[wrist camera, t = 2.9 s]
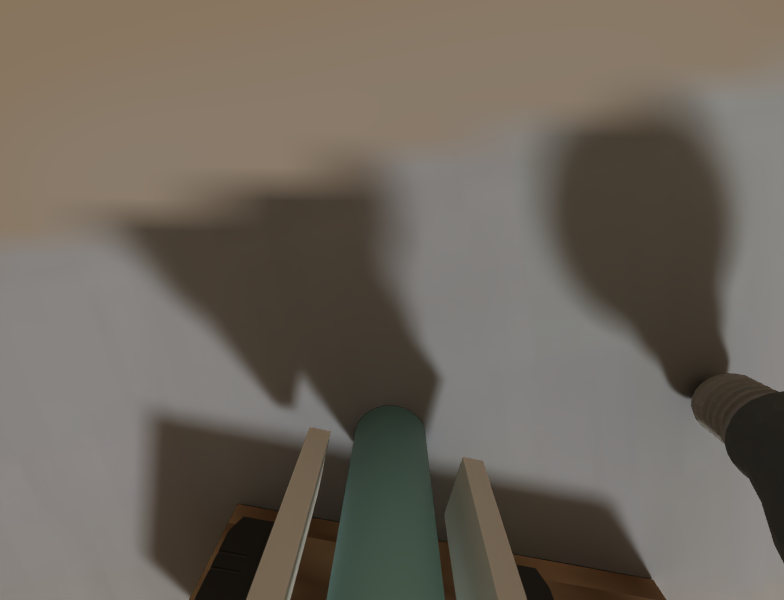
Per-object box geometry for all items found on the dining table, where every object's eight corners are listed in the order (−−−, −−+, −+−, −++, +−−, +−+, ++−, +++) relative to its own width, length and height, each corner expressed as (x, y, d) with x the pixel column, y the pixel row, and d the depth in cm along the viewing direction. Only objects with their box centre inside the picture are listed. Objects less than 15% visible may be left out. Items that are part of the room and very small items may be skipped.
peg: (349, 459, 16) (233, 1109, 5) (362, 399, 15) (261, 1010, 4) (416, 471, 16) (462, 1134, 5) (433, 413, 16) (535, 1042, 4)
